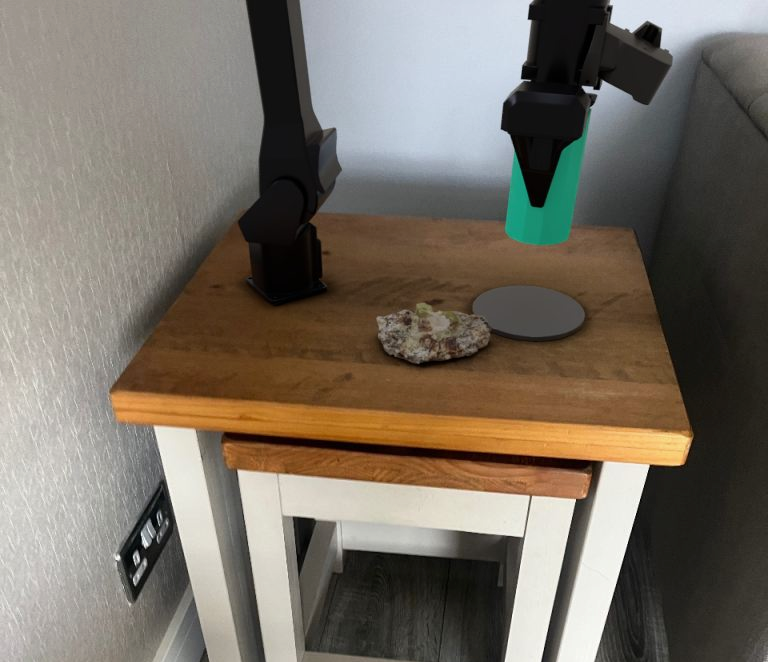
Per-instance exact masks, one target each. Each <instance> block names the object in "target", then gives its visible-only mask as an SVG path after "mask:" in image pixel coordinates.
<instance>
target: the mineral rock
mask: <svg viewBox="0 0 768 662" xmlns="http://www.w3.org/2000/svg"><path fill="white" fill-rule="evenodd" d="M375 320H376V322H377V327H378V329H377V339H378V340H379V341H380V342H381V344H382V346H383V350H384V351H385V352H386V353H387V354H388V355H389V356H392V355H393V356H394V357H396V358H399V359H403V360H405V361H408V362H409V363H412V364H414V365H420V363H426V362H432V361H435V362H443V361H446V360H451V359H453V358H455V359H456V358H461V357H465V356H466V357H471V356H472V355H473V354H475V353H478V351H479V349H484V348H485V347H486V346H488V343H489V341H490V340H491V337H492V335H491V330H492V328H491V327H490V326H489V325H488V321H487V319H486V318H485V317H483V316H478V315H476V314H473V313H471V314H470V313H469V314H467V313H463V312H461V311H457V310H445V311H444V310H440V309H438V310H437V311H434V308H433V306H432V305H430V304H428V303H426V302H419V303H416V305H415V310H411V309H401V310H400V311H397V312H393V313H391V314H388V315H385V316H382V315H381V316H380V315H378V316H377V317H376V319H375Z"/></svg>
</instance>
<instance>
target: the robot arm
mask: <svg viewBox="0 0 768 662" xmlns="http://www.w3.org/2000/svg"><path fill="white" fill-rule="evenodd" d="M245 5H246V11H247V12H246V13H247V19H248V25H249V32H250V38H251V44H252V50H253V58H254V63H255V71H256V76H257V81H258V82H257V83H258V89H259V95H260V102H261V108H262V115H263V126H262V133H261V138H260V145H259V153H258V198H257V199H256V201H255V202H254V203H252V205H251V206H250V207H249V208H248V209H247V210H246V211H245V212H244V213H243V214H242V216H241V217H240V218H238V219H237V225H238V228H239V230H240V232H241V234H242V236H243V239H244V241H245V242H246V243H247V245H248V253H249V263H250V271H251V273H250V274H251V275H249V276H246V277H245V283H246V284H247V286H249V287H250V288H252V290H254V291H255V292H256V293H258V294H259V295H260V296H261V297H262V298H263V299H264V300H266V301H267V302H268V303H269V304H270V305H278V304H282V303H287V302H290V301H293V300H297V299H300V298H301V299H302V298H304V297H309V296H312V295H316V294H319V293H323V292H326V291H328V285H327V284H326V283H325V282H324V281H322V280H321V279H323V277H324V271H323V253H322V252H323V249H322V240H321V239H320V238H319V237H318V227H317V226H316V225H315V224H313V223H312V222H311V220H312V219H313V217H315V216H316V214H317V213H318V212H319V210H320V209H321V208H322V206H323V205H324V203H325V202H327V199H328V198H329V197H330V195H331V194H333V191H334V189H335V186H336V182H337V181H336V180H337V178H338V176H339V175H340V174H341V173H342V171H343V168H342V166H341V163H340V162H339V158H338V154H337V146H338V145H337V144H338V143H337V142H338V132H337V130H338V129H337V127H334V126H333V127H329V128H324V129H323V128H322V126H321V124H320V121H319V119H318V118H317V115H316V113H315V111H314V107H313V101H312V93H311V92H312V91H311V84H310V77H309V76H310V75H309V67H308V60H307V51H306V42H305V33H304V25H303V17H302V11H301V10H302V9H301V0H245ZM613 9H614V5H613V4H611V0H532V1H531V2H530V3H529V4H528V11H527V21H530V28H529V37H528V43H527V53H526V60H525V61H524V62H523V63H522V65H521V73H520V80H523V81H522V82H520V83H519V84H518V85H517V86H516V87H515V88H514V89H513V90H511V92H510V93H508V96H507V97H506V98H505V100H504V101H503V102H502V109H501V110H502V111H501V118H500V119H501V121H500V127H499V128H500V130H501V131H503V132H505V133H507V134H508V135H509V137H510V140H511V144H512V146H513V150H515V153H516V156H517V159H518V163H519V166H520V169H521V173H522V176H523V180H524V183H525V187H526V190H527V194H528V198H529V201H530V205H531V206H532V207H537V208H542V207H544V204H545V201H546V198H547V195H548V193H549V190H550V187H551V184H552V181H553V178H554V175H555V172H556V169H557V166H558V163H559V160H560V157H561V154H562V151H563V149H565V148H566V147H567V146H569V145H570V144H571V143H573V142H574V141H576V140H578V139H579V138H581V137H582V135H583V133H584V130H585V128H586V122H587V118H588V112H589V108H590V109H591V108H592V107H593V106H594V105H595V103H596V102H597V99H598V97H599V96H598V94H596V93H594V92H593V93H592V92H591V93H590V92H586V90H585V89H584V88H583V87H590V88H592V91H600V90H601V88H602V85H603V82H604V83H607V84H609V85H611V86H612V87H614V88H617V89H618V90H620V91H622V92H624V93H626V94H628V95H630V96H631V97H632V100H633V101H635V102H637V103H639V104H641V105H644V106H649V105H651V102H652V101H653V99H654V98H655V96H656V94H657V92H658V90H659V89H660V87H661V85H662V83H663V82H664V80H665V78H666V77H667V75H668V73H669V72H670V70H671V68H672V67H673V61H674V56H673V55H672V54H671V53H670V50H669V49H666V48H664V49H663V48H662V47H661V44H662V35H663V28H662V27H661V26H659V25H657V24H655V23H653V22H651V21H649V20H646V21H644V23H642V24H641V25H640V26H639V27H637V28H636V29H635V30H633V31H632V32H631V30H630V29H628V28H626V27H625V28H624V29H623V28H621V27H620V26H617V25H615V24H613V23H611V20H612V14H613Z"/></svg>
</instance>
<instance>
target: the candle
mask: <svg viewBox="0 0 768 662" xmlns="http://www.w3.org/2000/svg"><path fill="white" fill-rule="evenodd" d="M591 114H592V108H591V107H590V108H589V112H588V118H587V122H586V128H585V130H584V133H583V135H582V137H581V138H579V139H578V140H576V141H574V142H573V143H571V144H570V145H569V146H567V147H566V148H565V149H563V151H562V154H561V157H560V160H559V163H558V166H557V169H556V172H555V175H554V178H553V181H552V184H551V187H550V190H549V193H548V195H547V198H546V201H545V204H544V207H542V208H537V207H532V206H531V205H530V201H529V198H528V194H527V190H526V187H525V183H524V180H523V176H522V173H521V169H520V166H519V163H518V159H517V156H516V153H515V150H514V149H513V150H514V151H513V160H512V167H511V176H510V183H509V184H510V185H509V194H508V200H507V201H508V202H507V210H506V218H505V226H504V232H505V233H506V235H507V236H508V237H509V238H510V239H512V240H513V241H517V242H519V243H522V244H528V245H535V246H552V245H553V246H554V245H555V246H556V245H558V244H561V243H563V242H566V241H568V239H569V237H570V235H571V230H572V225H573V220H574V219H573V218H574V212H575V208H576V202H577V201H576V200H577V195H578V190H579V183H580V179H581V173H582V167H583V160H584V155H585V150H586V149H585V148H586V145H587V144H586V143H587V138H588V133H589V126H590V120H591V116H592V115H591Z"/></svg>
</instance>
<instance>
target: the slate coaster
mask: <svg viewBox="0 0 768 662" xmlns="http://www.w3.org/2000/svg"><path fill="white" fill-rule="evenodd" d="M471 310H472V311H471V314H476V315H478V316H483V317H485V318H486V319H487V321H488V325H489V326H490V327H491V328H492V330H491V331H490V333H493V334H495V335H498V336H501V337H504V338H508V339H513V340H517V341H518V340H519V341H526V342H547V341H555V340H560V339H563V338H567V337H569V336H571V335H573V334H575V333H577V332H578V331H579V330H580V329H581V328H582V326H583V325H584V323H585V322H584V321H585V318H586V314H585V310H584V308H583V307H582V305H581V304H580V303H579V302H578V301H577V300H575V299H574V298H573V297H571V296H569V295H567V294H565V293H563V292H560V291H557V290H554V289H550V288H547V287H541V286H535V285H506V286H499V287H496V288H492V289H489V290H486V291H484V292H483V293H481V294H479V295H478V296H477V297H476V298H475V299H474V301H473V303H472V309H471Z"/></svg>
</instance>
